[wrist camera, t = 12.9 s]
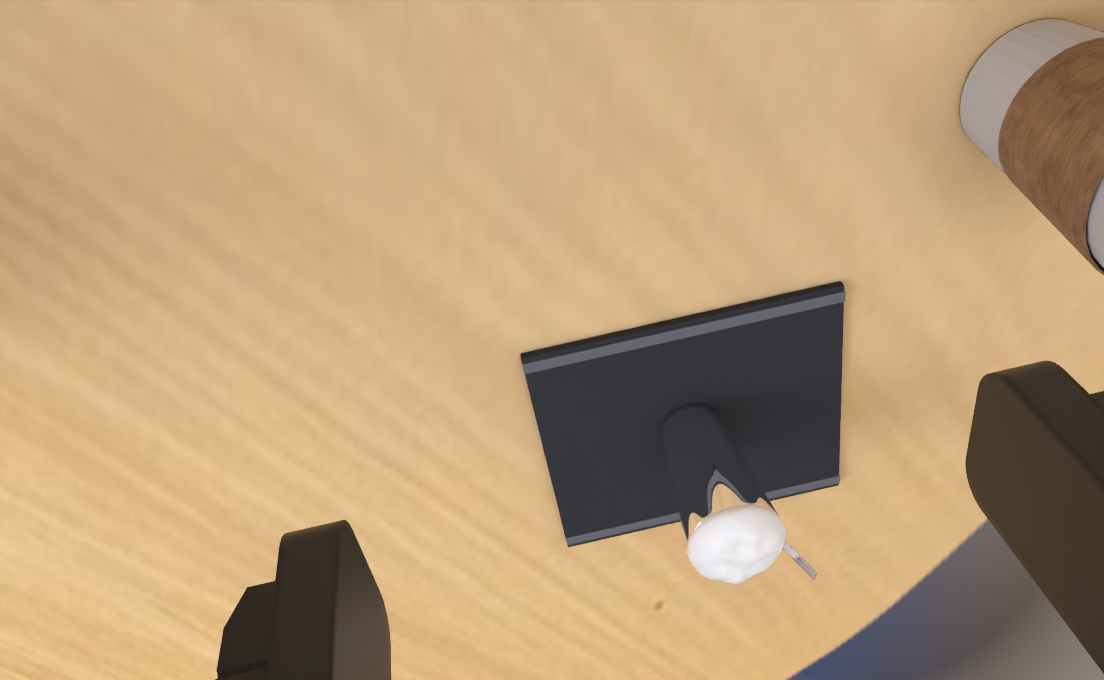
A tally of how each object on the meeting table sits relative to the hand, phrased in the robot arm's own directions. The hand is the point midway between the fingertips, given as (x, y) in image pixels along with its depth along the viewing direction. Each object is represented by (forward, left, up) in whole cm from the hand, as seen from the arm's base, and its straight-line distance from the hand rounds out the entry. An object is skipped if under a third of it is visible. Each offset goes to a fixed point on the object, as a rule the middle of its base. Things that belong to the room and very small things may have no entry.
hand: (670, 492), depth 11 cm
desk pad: (+6, -24, -27) cm, 36 cm away
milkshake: (+6, -24, -26) cm, 36 cm away
